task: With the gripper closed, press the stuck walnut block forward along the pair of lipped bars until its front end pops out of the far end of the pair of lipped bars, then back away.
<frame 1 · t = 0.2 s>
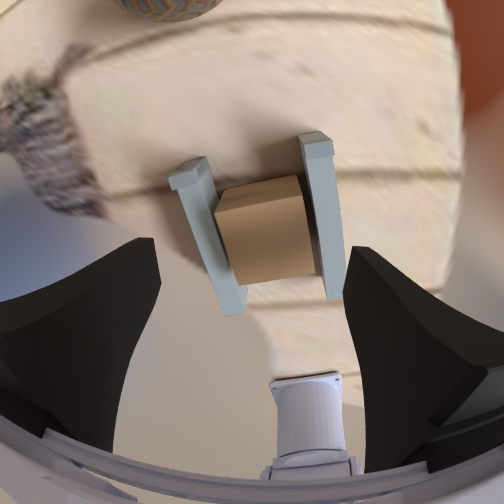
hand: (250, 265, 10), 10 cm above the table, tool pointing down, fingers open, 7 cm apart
pair of lipped bars: (270, 221, 20), on the table
walnut block: (268, 228, 18), point 2 cm above the table, slide at 0.0 cm
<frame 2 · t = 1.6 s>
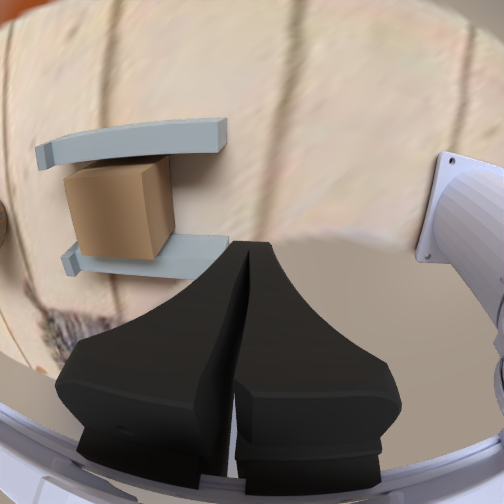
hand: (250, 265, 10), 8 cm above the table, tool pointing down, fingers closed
pair of lipped bars: (143, 192, 17), on the table
walnut block: (122, 204, 16), point 2 cm above the table, slide at 0.0 cm
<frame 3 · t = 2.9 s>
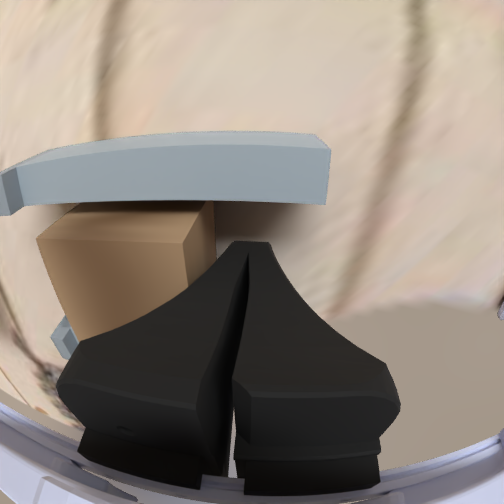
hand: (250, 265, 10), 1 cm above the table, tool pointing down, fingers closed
pair of lipped bars: (168, 244, 12), on the table
walnut block: (138, 272, 10), point 2 cm above the table, slide at 0.0 cm, touching gripper
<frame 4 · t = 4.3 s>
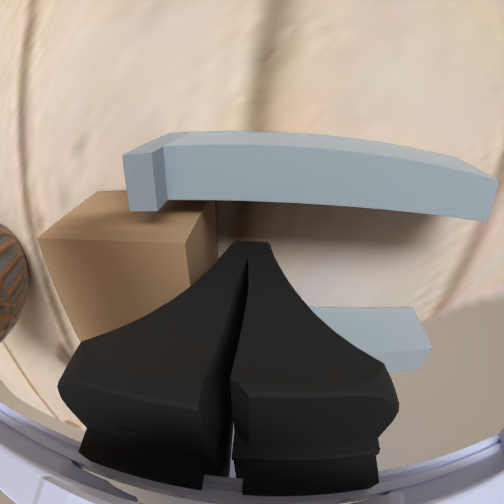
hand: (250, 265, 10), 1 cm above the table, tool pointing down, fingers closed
vase: (8, 250, 13), on the table
pair of lipped bars: (316, 250, 11), on the table
walnut block: (140, 272, 10), point 2 cm above the table, slide at 5.9 cm, touching gripper
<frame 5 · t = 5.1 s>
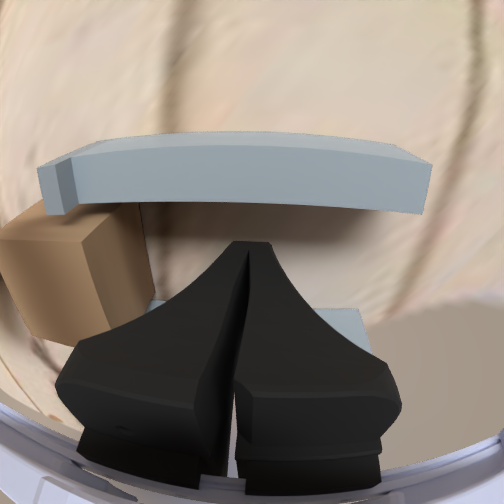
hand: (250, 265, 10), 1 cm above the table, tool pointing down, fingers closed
pair of lipped bars: (239, 248, 11), on the table
walnut block: (74, 269, 10), point 2 cm above the table, slide at 5.9 cm
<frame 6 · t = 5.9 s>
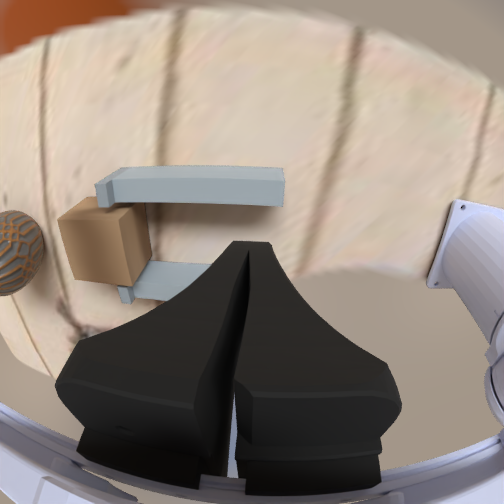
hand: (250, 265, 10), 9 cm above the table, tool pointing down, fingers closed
vase: (30, 232, 21), on the table
pair of lipped bars: (199, 228, 20), on the table
walnut block: (106, 238, 19), point 2 cm above the table, slide at 5.9 cm
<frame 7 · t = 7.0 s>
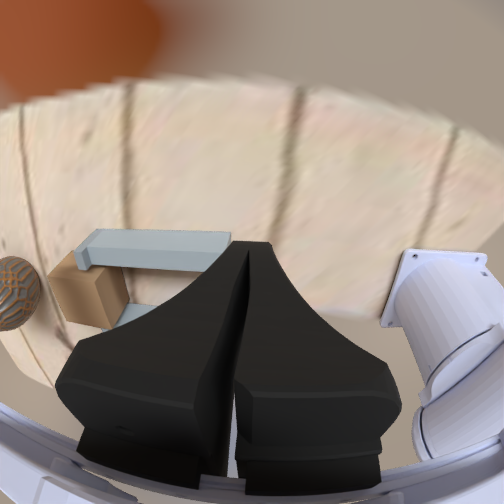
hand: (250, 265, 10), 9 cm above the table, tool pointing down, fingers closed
vase: (27, 272, 24), on the table
pair of lipped bars: (165, 279, 23), on the table
walnut block: (89, 288, 21), point 2 cm above the table, slide at 5.9 cm
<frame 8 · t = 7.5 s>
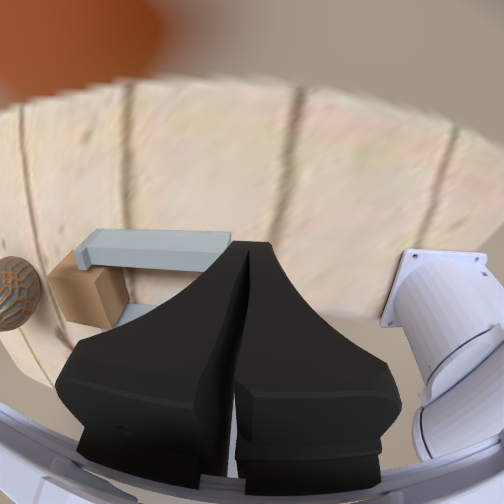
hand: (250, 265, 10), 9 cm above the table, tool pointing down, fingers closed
vase: (27, 272, 24), on the table
pair of lipped bars: (165, 279, 23), on the table
walnut block: (89, 288, 21), point 2 cm above the table, slide at 5.9 cm
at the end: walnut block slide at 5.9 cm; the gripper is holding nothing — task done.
